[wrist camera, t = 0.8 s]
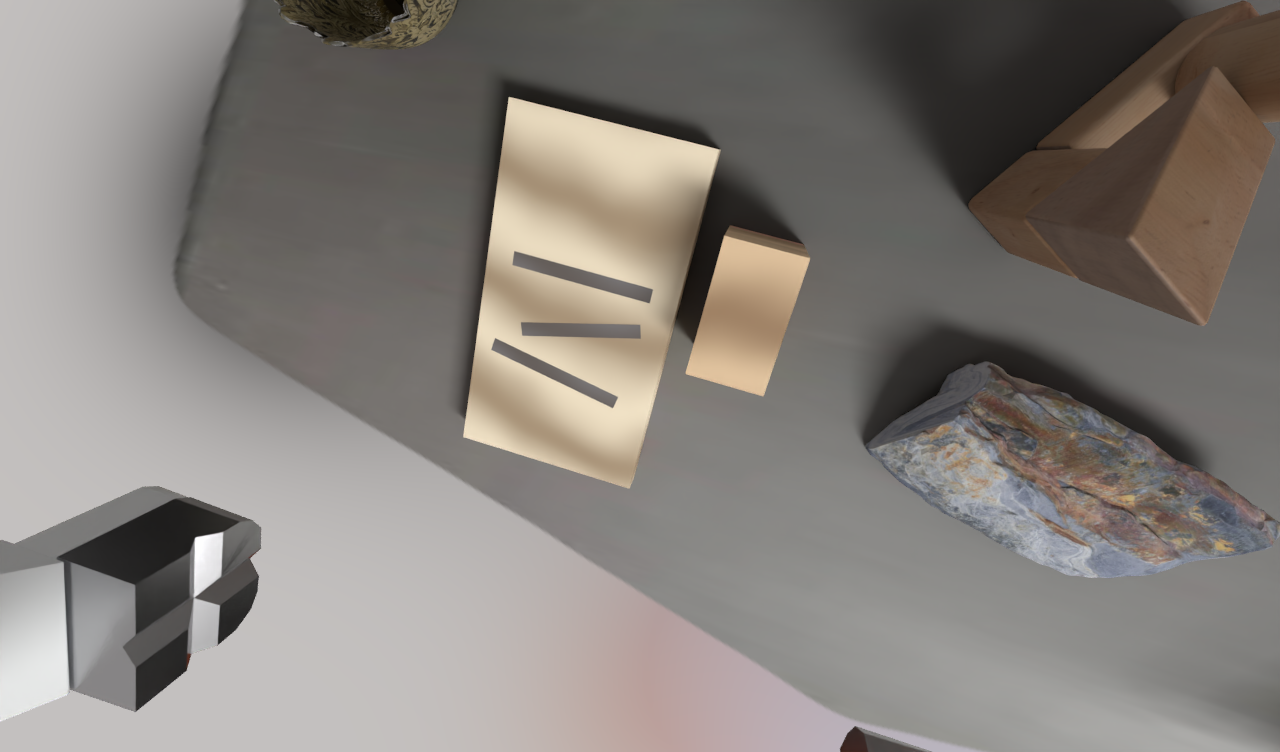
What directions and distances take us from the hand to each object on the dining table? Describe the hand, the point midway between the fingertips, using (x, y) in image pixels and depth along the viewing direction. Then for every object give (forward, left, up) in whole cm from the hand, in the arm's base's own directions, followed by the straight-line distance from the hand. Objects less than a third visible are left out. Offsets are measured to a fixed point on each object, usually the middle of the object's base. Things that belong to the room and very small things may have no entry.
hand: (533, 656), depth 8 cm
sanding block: (0, +2, -27) cm, 27 cm away
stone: (+6, +20, -28) cm, 35 cm away
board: (+3, -7, -27) cm, 28 cm away
